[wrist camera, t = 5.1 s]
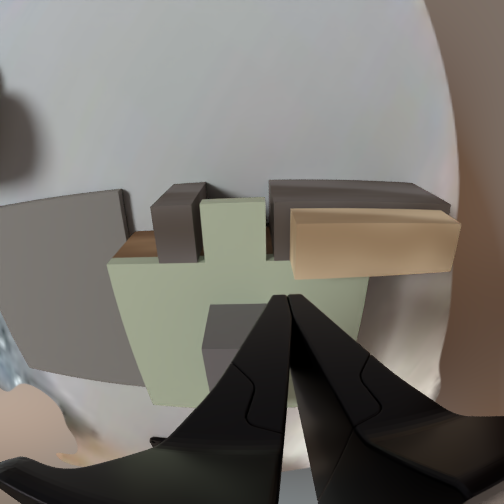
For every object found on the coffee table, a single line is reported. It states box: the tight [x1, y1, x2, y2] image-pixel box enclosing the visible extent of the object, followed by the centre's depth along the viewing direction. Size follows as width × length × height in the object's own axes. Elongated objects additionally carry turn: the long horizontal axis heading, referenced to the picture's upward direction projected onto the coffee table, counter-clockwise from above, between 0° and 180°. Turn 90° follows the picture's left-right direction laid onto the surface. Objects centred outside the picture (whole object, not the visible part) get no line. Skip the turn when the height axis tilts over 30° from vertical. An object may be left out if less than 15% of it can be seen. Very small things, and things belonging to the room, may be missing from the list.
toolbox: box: [112, 180, 451, 264], centre depth 19 cm, size 15×18×5 cm
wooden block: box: [290, 208, 461, 280], centre depth 13 cm, size 2×8×2 cm, turn 92°
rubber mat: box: [0, 189, 146, 387], centre depth 22 cm, size 18×17×1 cm
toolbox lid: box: [106, 197, 369, 408], centre depth 16 cm, size 15×14×4 cm
